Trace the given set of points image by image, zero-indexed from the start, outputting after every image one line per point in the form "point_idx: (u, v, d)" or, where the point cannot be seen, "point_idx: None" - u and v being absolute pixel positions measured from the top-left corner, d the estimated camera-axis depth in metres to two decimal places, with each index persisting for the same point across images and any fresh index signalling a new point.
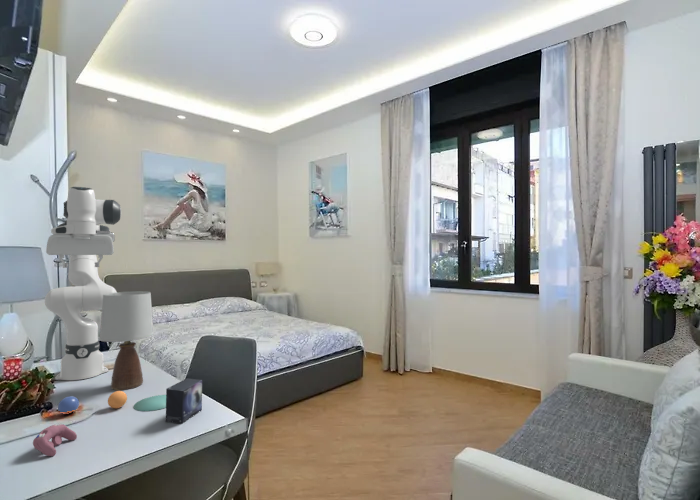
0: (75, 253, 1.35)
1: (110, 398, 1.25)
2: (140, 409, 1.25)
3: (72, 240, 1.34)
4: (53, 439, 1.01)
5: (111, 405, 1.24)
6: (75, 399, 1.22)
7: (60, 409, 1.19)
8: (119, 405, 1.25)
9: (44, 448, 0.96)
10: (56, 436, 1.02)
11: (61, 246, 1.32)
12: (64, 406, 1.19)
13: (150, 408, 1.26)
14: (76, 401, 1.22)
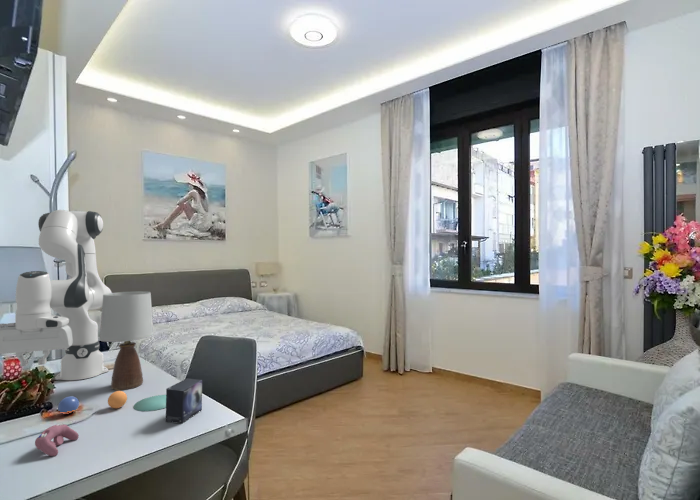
0: None
1: (110, 398, 1.25)
2: (140, 409, 1.25)
3: None
4: (55, 439, 1.01)
5: (111, 405, 1.24)
6: (75, 399, 1.22)
7: (60, 409, 1.19)
8: (119, 405, 1.25)
9: (46, 448, 0.96)
10: (58, 436, 1.02)
11: None
12: (64, 406, 1.19)
13: (150, 408, 1.26)
14: (76, 401, 1.22)
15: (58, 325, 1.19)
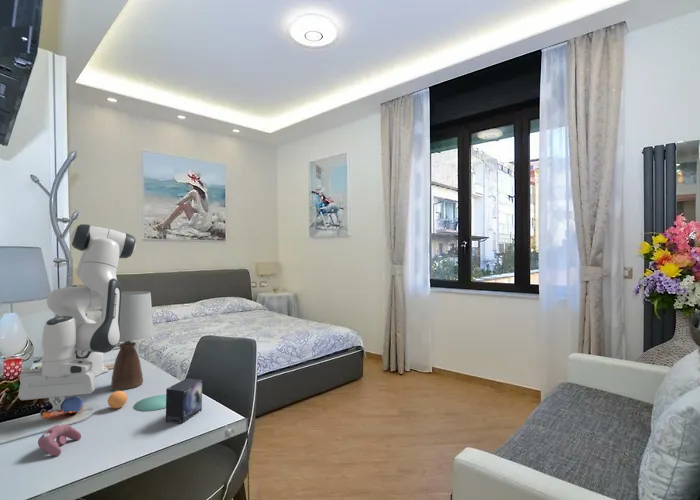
0: None
1: (110, 398, 1.25)
2: (140, 409, 1.25)
3: None
4: (58, 439, 1.01)
5: (111, 405, 1.24)
6: (80, 399, 1.23)
7: (64, 408, 1.20)
8: (119, 405, 1.25)
9: (49, 448, 0.96)
10: (61, 436, 1.02)
11: None
12: (69, 406, 1.20)
13: (150, 408, 1.26)
14: (81, 402, 1.23)
15: (82, 371, 1.20)
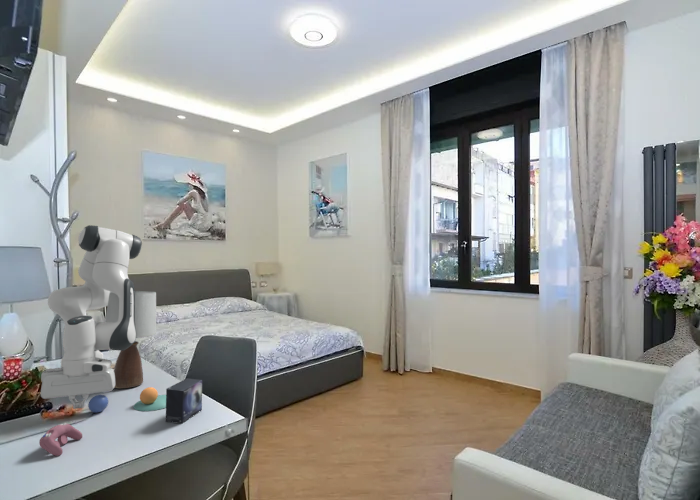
0: None
1: (152, 401, 1.29)
2: (140, 409, 1.25)
3: None
4: (59, 439, 1.01)
5: (152, 395, 1.29)
6: None
7: (98, 406, 1.21)
8: (145, 393, 1.28)
9: (50, 448, 0.96)
10: (62, 436, 1.02)
11: None
12: (96, 410, 1.21)
13: (150, 408, 1.26)
14: None
15: (103, 369, 1.23)
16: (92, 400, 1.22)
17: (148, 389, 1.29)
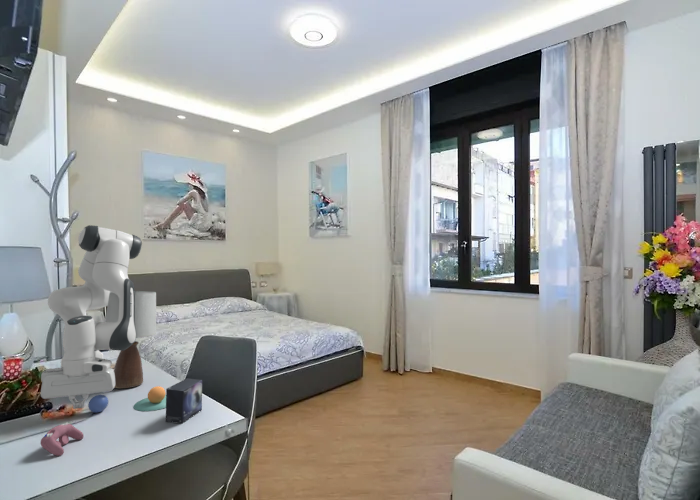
0: None
1: (154, 402, 1.29)
2: (140, 409, 1.25)
3: None
4: (60, 439, 1.01)
5: (160, 398, 1.30)
6: None
7: (98, 406, 1.21)
8: (158, 392, 1.29)
9: (51, 448, 0.96)
10: (63, 436, 1.02)
11: None
12: (96, 410, 1.21)
13: (150, 408, 1.26)
14: None
15: (103, 369, 1.23)
16: (92, 400, 1.22)
17: (162, 390, 1.31)
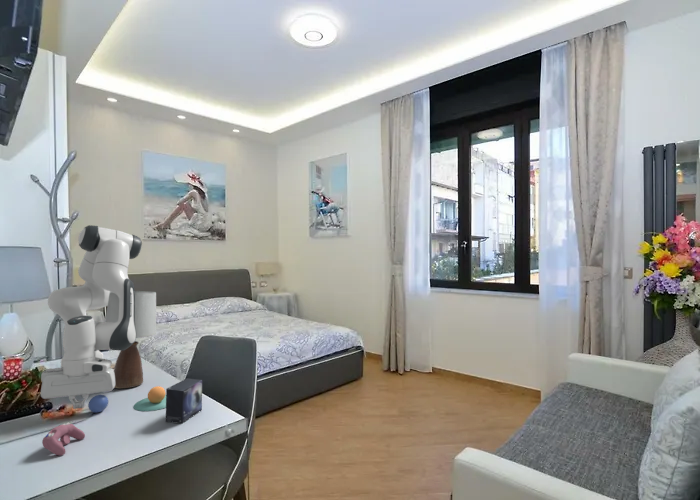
0: None
1: (154, 402, 1.29)
2: (140, 409, 1.25)
3: None
4: (62, 438, 1.02)
5: (160, 398, 1.30)
6: None
7: (98, 406, 1.21)
8: (158, 392, 1.29)
9: (53, 447, 0.96)
10: (64, 435, 1.02)
11: None
12: (96, 410, 1.21)
13: (150, 408, 1.26)
14: None
15: (103, 369, 1.23)
16: (92, 400, 1.22)
17: (162, 390, 1.31)
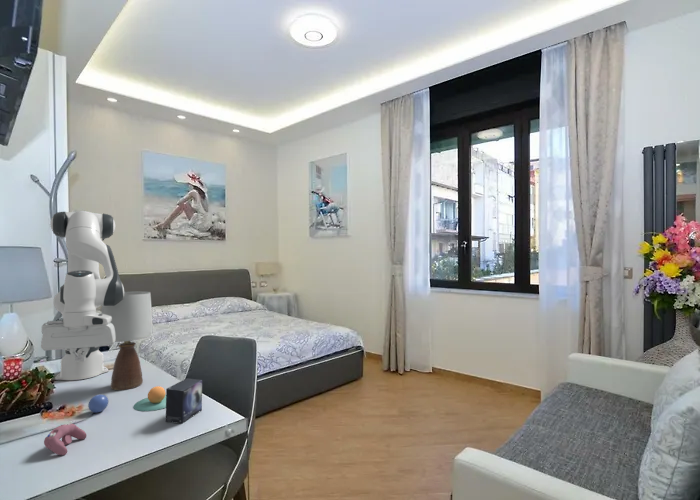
0: None
1: (154, 402, 1.29)
2: (140, 409, 1.25)
3: None
4: (63, 438, 1.02)
5: (160, 398, 1.30)
6: None
7: (98, 406, 1.21)
8: (158, 392, 1.29)
9: (55, 447, 0.96)
10: (66, 435, 1.02)
11: None
12: (96, 410, 1.21)
13: (150, 408, 1.26)
14: None
15: (103, 322, 1.23)
16: (92, 400, 1.22)
17: (162, 390, 1.31)
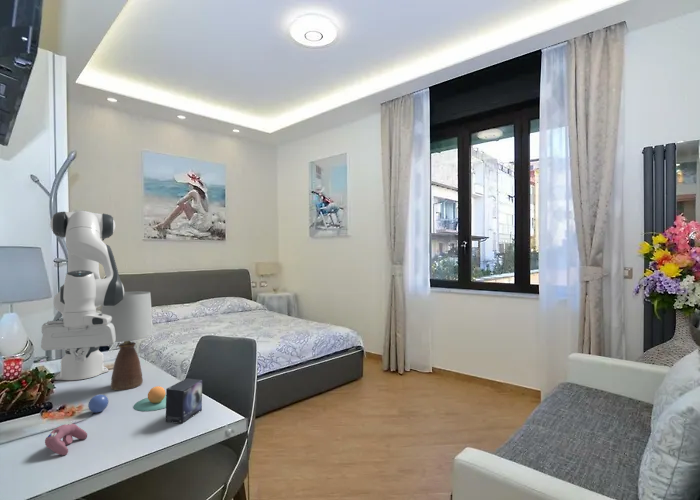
0: None
1: (154, 402, 1.29)
2: (140, 409, 1.25)
3: None
4: (64, 438, 1.02)
5: (160, 398, 1.30)
6: None
7: (98, 406, 1.21)
8: (158, 392, 1.29)
9: (56, 447, 0.96)
10: (67, 435, 1.02)
11: None
12: (96, 410, 1.21)
13: (150, 408, 1.26)
14: None
15: (103, 322, 1.23)
16: (92, 400, 1.22)
17: (162, 390, 1.31)
